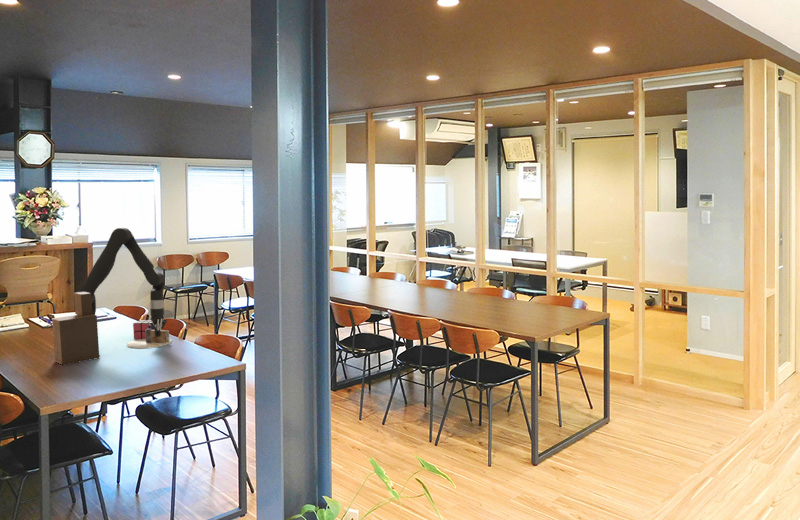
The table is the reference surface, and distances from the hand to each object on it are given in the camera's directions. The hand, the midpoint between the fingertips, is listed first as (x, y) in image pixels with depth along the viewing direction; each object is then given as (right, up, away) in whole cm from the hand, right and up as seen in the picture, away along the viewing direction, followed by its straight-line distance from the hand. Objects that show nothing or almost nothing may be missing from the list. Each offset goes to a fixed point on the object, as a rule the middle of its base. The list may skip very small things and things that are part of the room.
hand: (157, 336), depth 365 cm
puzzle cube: (-16, -3, +22) cm, 28 cm away
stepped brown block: (-31, -9, -30) cm, 44 cm away
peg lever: (-2, -4, +4) cm, 6 cm away
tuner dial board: (-7, -5, +6) cm, 10 cm away
